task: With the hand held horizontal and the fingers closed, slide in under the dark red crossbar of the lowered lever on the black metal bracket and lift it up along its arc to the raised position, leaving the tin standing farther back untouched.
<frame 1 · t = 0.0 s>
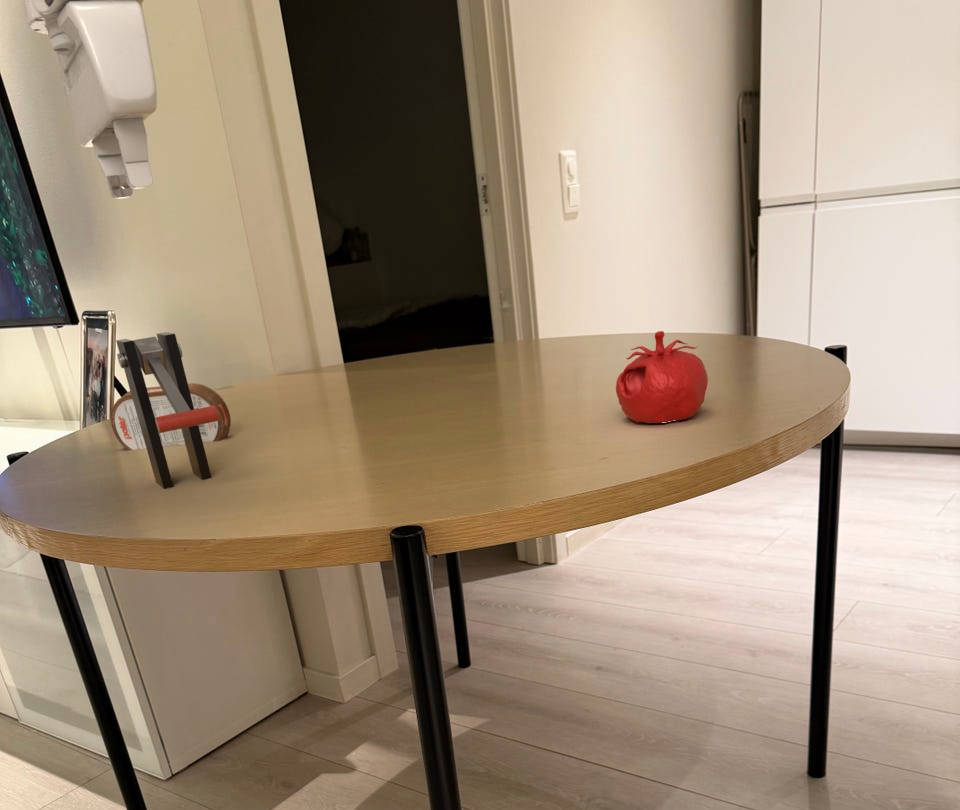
hand: (131, 193, 76), 28 cm above the table, tool pointing down, fingers open, 8 cm apart
bracket: (186, 491, 95), on the table
lever: (167, 384, 86), point 12 cm above the table, hinge at -25.0°
red tomato: (662, 419, 99), on the table
tin: (178, 455, 114), on the table
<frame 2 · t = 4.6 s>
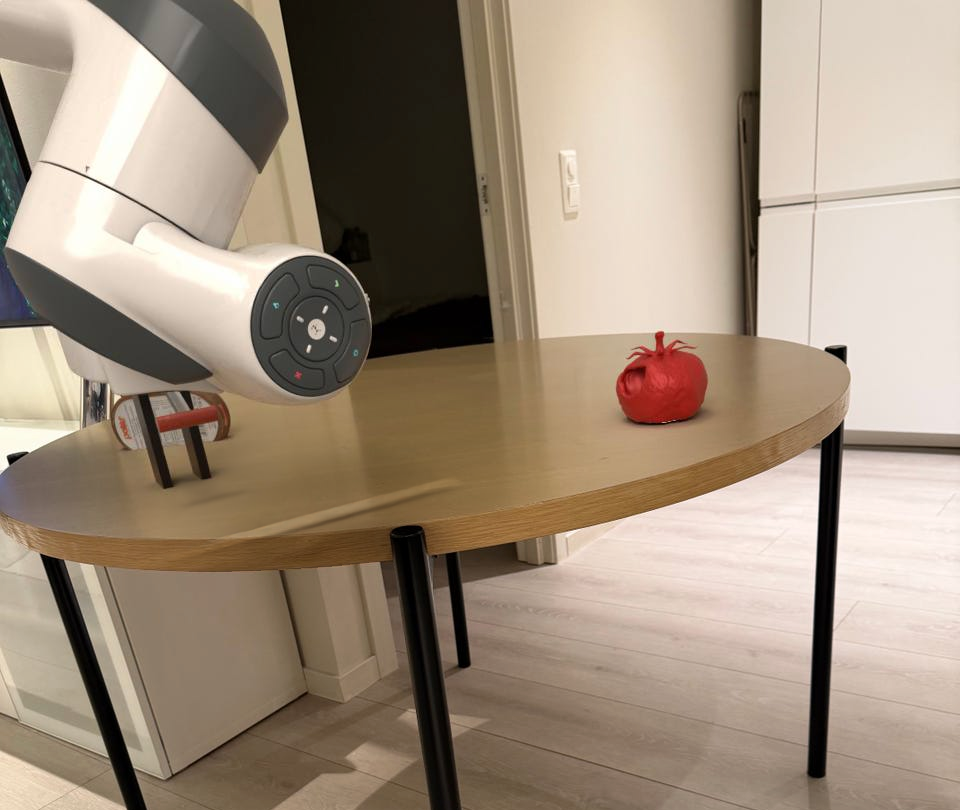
hand: (188, 319, 70), 18 cm above the table, tool horizontal, fingers closed
nothing on the table moved.
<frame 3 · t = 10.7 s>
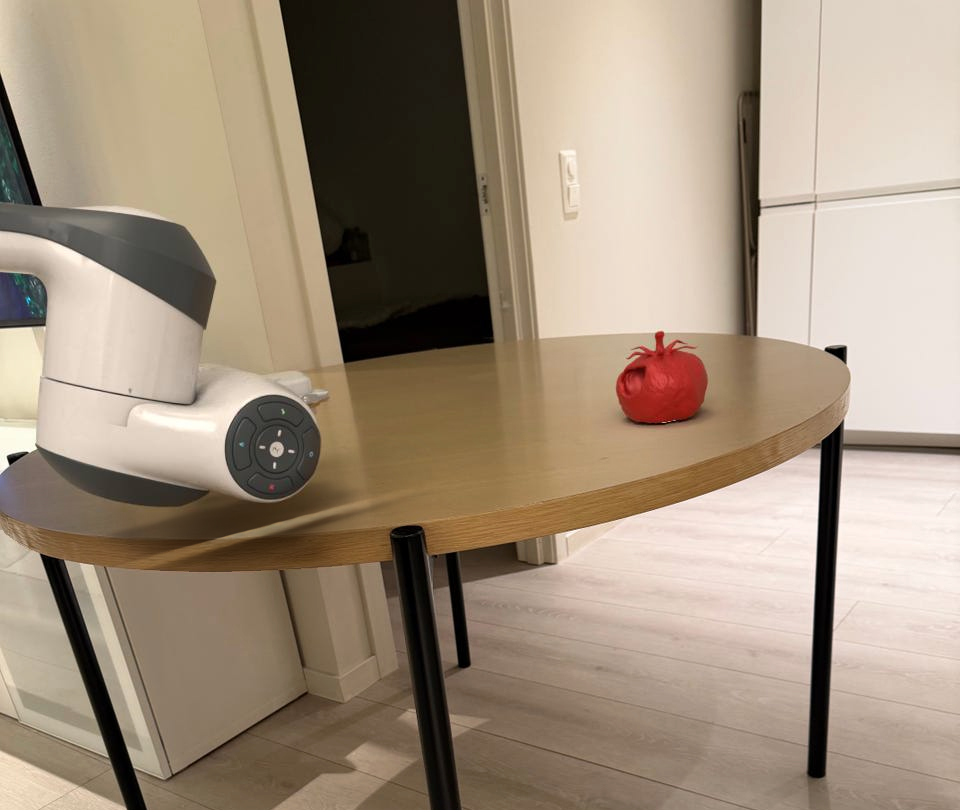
hand: (180, 404, 83), 10 cm above the table, tool horizontal, fingers closed
lever: (164, 370, 85), point 13 cm above the table, hinge at -11.0°
everything else where it was.
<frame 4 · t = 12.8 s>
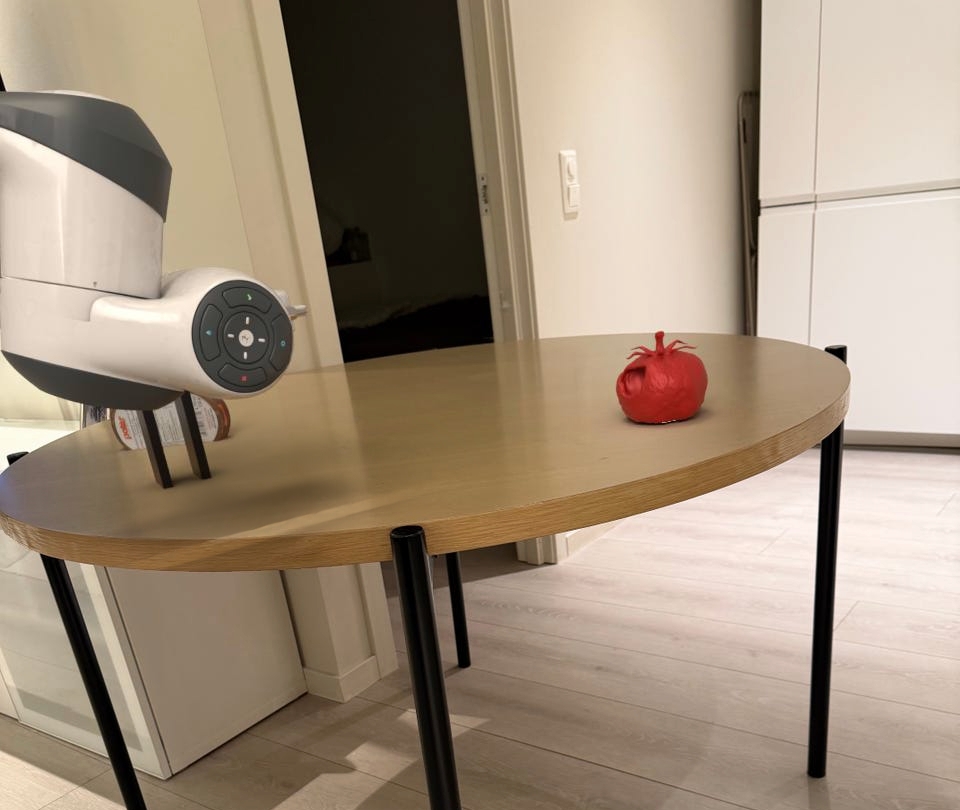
hand: (157, 326, 81), 17 cm above the table, tool horizontal, fingers closed, pressing on lever
lever: (151, 327, 84), point 17 cm above the table, hinge at 29.7°, touching gripper
everything else where it was.
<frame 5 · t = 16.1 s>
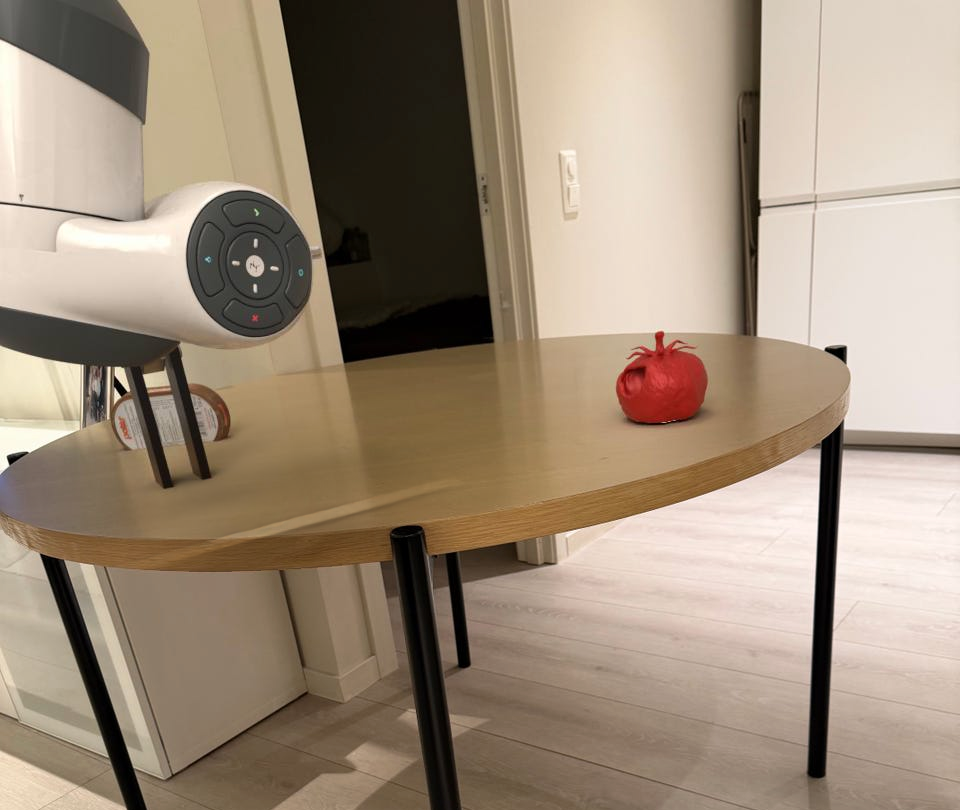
hand: (142, 274, 69), 22 cm above the table, tool horizontal, fingers closed
lever: (151, 327, 84), point 17 cm above the table, hinge at 29.8°
everything else where it was.
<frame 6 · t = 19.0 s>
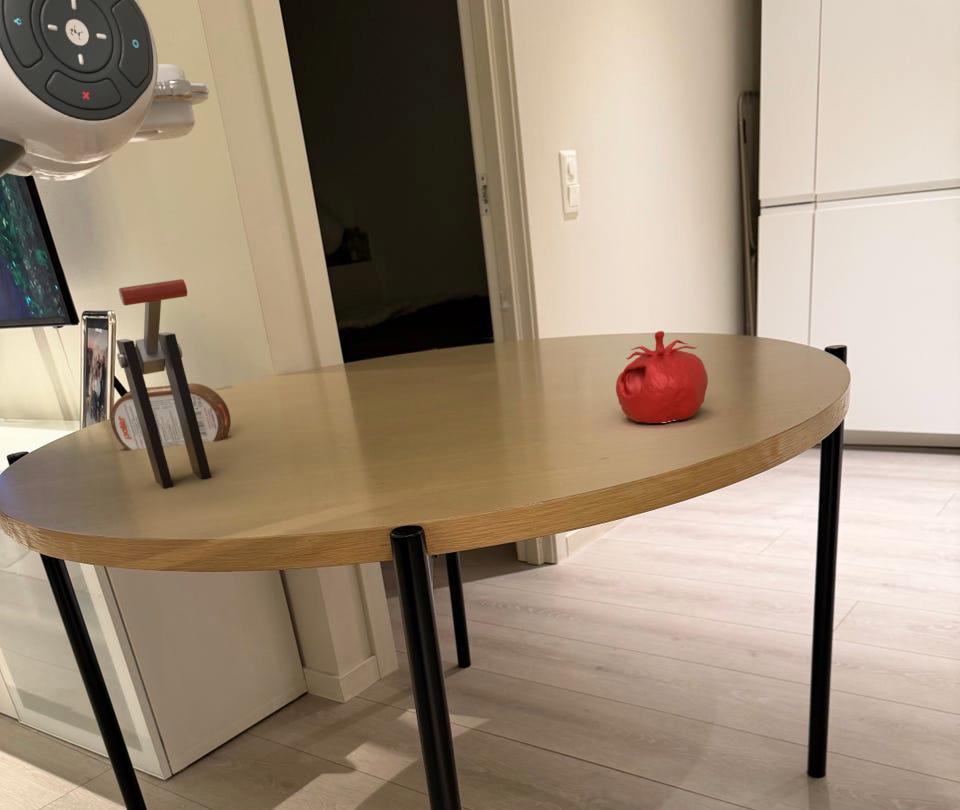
hand: (27, 130, 64), 32 cm above the table, tool horizontal, fingers closed
nothing on the table moved.
at the end: lever at +30° (first picture: -25°); tin moved 0.2 cm from its start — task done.
